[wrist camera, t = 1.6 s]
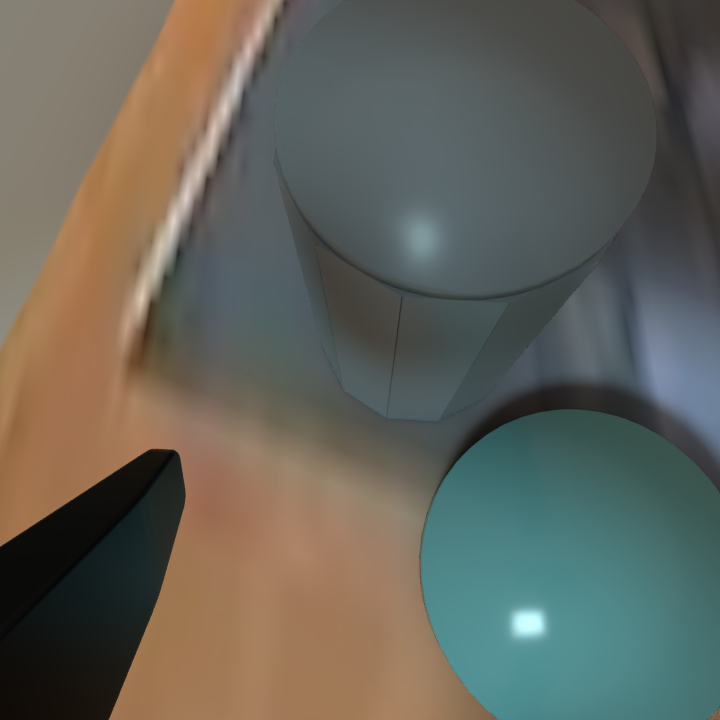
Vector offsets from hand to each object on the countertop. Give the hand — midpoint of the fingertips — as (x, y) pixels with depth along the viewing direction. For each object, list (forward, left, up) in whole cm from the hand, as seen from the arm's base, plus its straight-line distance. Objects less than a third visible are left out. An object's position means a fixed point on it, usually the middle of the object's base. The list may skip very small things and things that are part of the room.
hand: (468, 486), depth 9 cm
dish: (-6, -2, -13) cm, 14 cm away
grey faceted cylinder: (+4, -6, -13) cm, 15 cm away
